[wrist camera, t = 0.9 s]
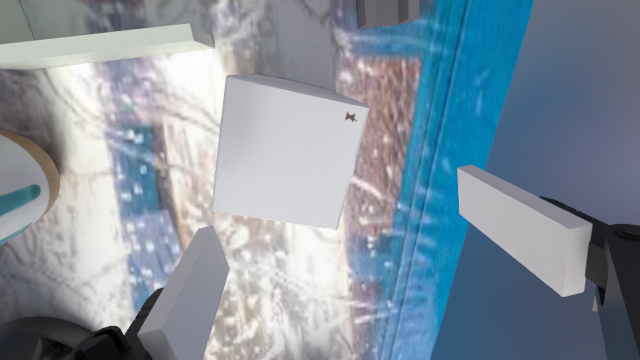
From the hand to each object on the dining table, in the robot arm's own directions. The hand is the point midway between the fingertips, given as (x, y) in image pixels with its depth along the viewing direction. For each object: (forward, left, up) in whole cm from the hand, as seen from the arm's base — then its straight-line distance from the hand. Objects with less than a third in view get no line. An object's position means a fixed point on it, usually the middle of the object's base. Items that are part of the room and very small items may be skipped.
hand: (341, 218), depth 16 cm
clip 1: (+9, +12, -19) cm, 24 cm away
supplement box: (-2, +2, -19) cm, 20 cm away
